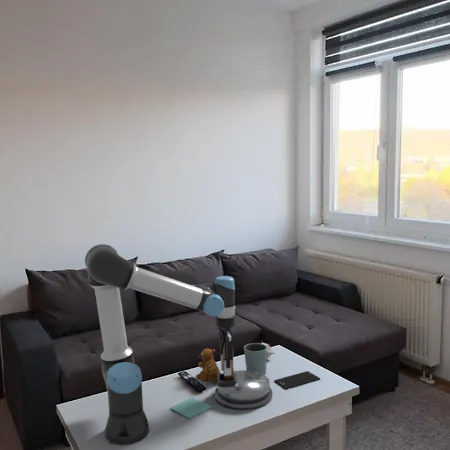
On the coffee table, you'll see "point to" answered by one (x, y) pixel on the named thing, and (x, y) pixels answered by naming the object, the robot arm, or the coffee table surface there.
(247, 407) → the base
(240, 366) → the coffee table surface
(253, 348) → the green cup
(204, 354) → the brown teddy bear
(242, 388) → the disc
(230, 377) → the key peg
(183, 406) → the key mat
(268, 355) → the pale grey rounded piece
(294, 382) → the cell phone
